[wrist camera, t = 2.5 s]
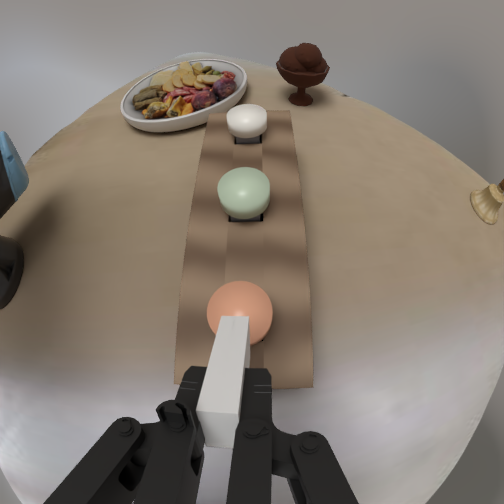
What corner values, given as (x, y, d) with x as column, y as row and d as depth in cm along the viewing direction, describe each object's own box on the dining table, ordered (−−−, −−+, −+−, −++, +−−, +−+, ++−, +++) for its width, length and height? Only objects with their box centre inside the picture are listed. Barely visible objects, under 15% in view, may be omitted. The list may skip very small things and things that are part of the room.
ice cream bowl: (328, 94, 55) (335, 40, 41) (318, 117, 51) (325, 55, 37) (285, 85, 57) (286, 32, 44) (269, 106, 53) (268, 45, 39)
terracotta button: (271, 351, 25) (272, 344, 19) (218, 351, 25) (205, 343, 19) (271, 301, 27) (272, 280, 21) (220, 301, 27) (208, 280, 22)
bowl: (104, 130, 55) (92, 107, 48) (176, 70, 66) (170, 49, 59) (202, 152, 48) (194, 119, 41) (268, 81, 59) (268, 55, 52)
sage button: (270, 238, 30) (270, 206, 24) (224, 239, 30) (215, 207, 25) (269, 201, 32) (269, 166, 27) (226, 202, 32) (219, 168, 27)
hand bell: (500, 228, 37) (544, 182, 23) (475, 219, 38) (520, 167, 24) (491, 196, 41) (527, 149, 26) (466, 186, 42) (502, 133, 28)
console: (299, 384, 30) (313, 387, 21) (200, 383, 30) (173, 384, 21) (287, 156, 45) (289, 110, 37) (218, 158, 46) (209, 113, 37)
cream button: (267, 160, 35) (267, 125, 30) (230, 161, 35) (224, 126, 30) (266, 136, 37) (266, 103, 32) (232, 137, 38) (228, 104, 32)
